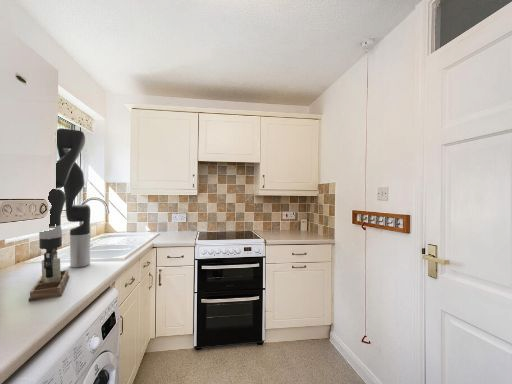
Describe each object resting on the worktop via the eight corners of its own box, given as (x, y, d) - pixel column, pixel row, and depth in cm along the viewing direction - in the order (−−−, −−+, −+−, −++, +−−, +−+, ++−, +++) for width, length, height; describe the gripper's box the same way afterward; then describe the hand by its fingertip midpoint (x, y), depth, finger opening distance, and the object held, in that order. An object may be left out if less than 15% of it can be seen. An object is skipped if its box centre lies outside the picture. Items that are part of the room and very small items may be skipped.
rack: (42, 280, 122) (42, 273, 122) (69, 277, 127) (69, 269, 127) (28, 301, 100) (28, 292, 100) (61, 296, 105) (61, 287, 105)
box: (55, 282, 117) (54, 257, 117) (61, 283, 115) (61, 258, 115) (41, 286, 112) (41, 260, 112) (47, 287, 110) (47, 261, 110)
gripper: (42, 234, 118) (43, 271, 118) (35, 240, 105) (36, 281, 105) (63, 233, 121) (64, 268, 121) (59, 238, 109) (59, 278, 109)
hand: (51, 274), depth 113 cm, fingers open, 8 cm apart
